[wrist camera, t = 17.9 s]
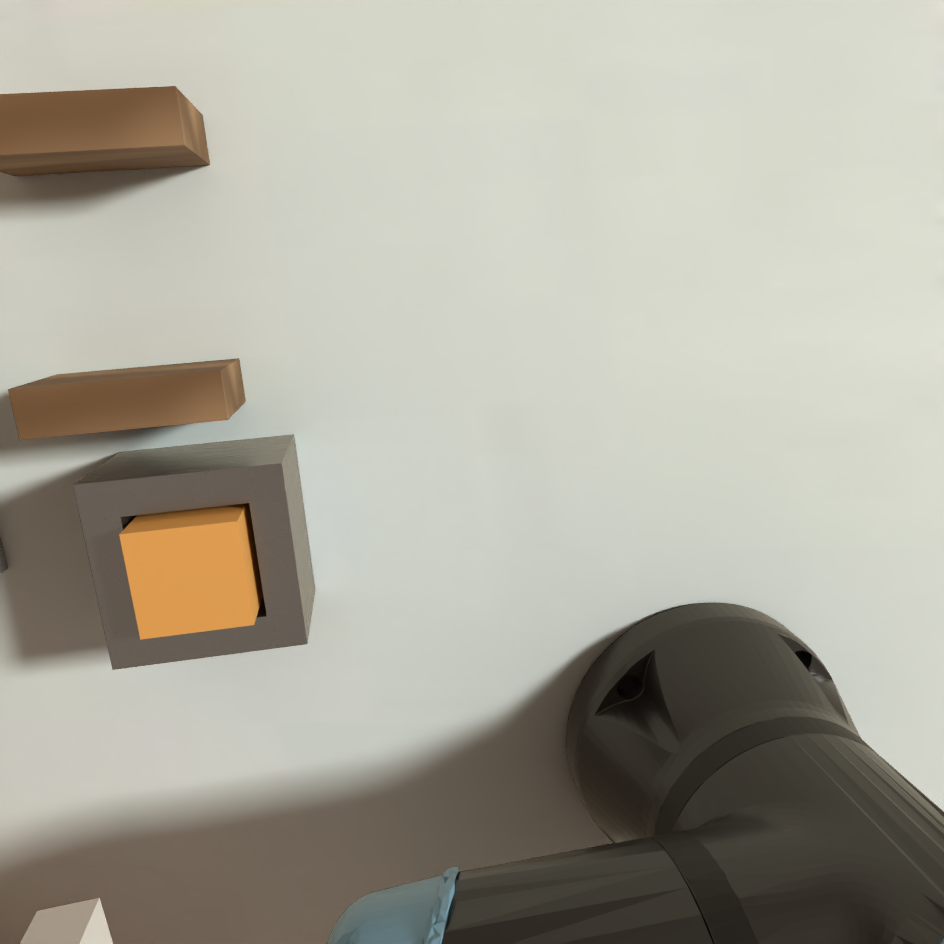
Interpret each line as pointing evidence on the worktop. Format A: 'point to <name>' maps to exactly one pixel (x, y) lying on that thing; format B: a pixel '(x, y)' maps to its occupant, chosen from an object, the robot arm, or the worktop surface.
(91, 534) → the plunger housing
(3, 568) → the mat
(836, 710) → the robot arm
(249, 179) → the worktop surface
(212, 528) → the plunger
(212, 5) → the worktop surface
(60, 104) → the block
